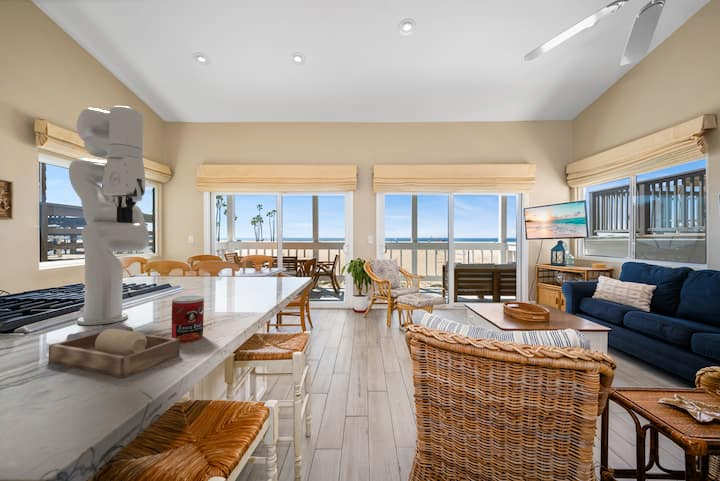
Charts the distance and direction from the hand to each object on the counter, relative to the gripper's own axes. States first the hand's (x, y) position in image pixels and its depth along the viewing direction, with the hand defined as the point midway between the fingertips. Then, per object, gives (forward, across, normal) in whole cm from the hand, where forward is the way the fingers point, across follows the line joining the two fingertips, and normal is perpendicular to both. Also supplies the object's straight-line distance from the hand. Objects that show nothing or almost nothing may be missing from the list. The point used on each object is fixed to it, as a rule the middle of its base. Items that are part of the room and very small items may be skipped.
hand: (124, 222), depth 86 cm
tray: (+31, +14, -12) cm, 36 cm away
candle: (+28, +10, -11) cm, 31 cm away
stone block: (+32, -2, -5) cm, 32 cm away
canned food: (+31, +17, +6) cm, 36 cm away
